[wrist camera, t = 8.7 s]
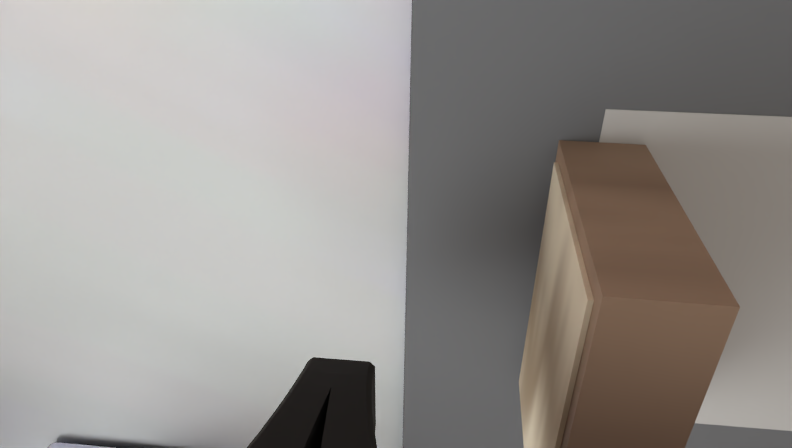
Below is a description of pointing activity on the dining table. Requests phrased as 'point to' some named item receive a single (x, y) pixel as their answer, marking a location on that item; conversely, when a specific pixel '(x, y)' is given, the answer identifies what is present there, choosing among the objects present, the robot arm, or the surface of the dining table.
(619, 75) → the charcoal mat
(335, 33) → the dining table surface
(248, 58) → the dining table surface
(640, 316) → the walnut slab
